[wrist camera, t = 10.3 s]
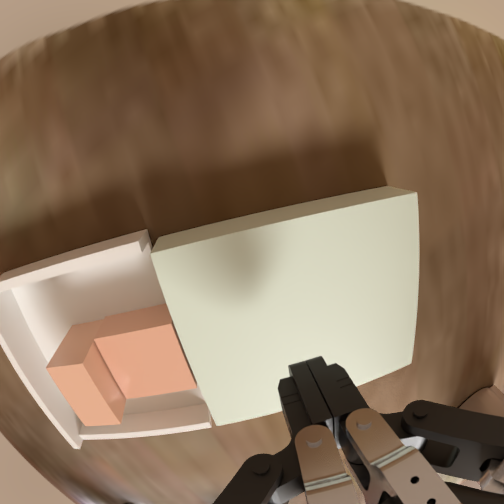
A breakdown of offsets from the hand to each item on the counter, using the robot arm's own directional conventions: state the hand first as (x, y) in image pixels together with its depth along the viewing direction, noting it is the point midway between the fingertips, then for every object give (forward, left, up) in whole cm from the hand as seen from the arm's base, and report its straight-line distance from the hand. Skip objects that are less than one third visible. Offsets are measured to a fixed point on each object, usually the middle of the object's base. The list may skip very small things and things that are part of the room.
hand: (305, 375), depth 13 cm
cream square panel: (-2, 0, -7) cm, 7 cm away
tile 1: (+8, 0, -6) cm, 10 cm away
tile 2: (+10, 0, -4) cm, 11 cm away
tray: (+11, 0, -7) cm, 13 cm away
